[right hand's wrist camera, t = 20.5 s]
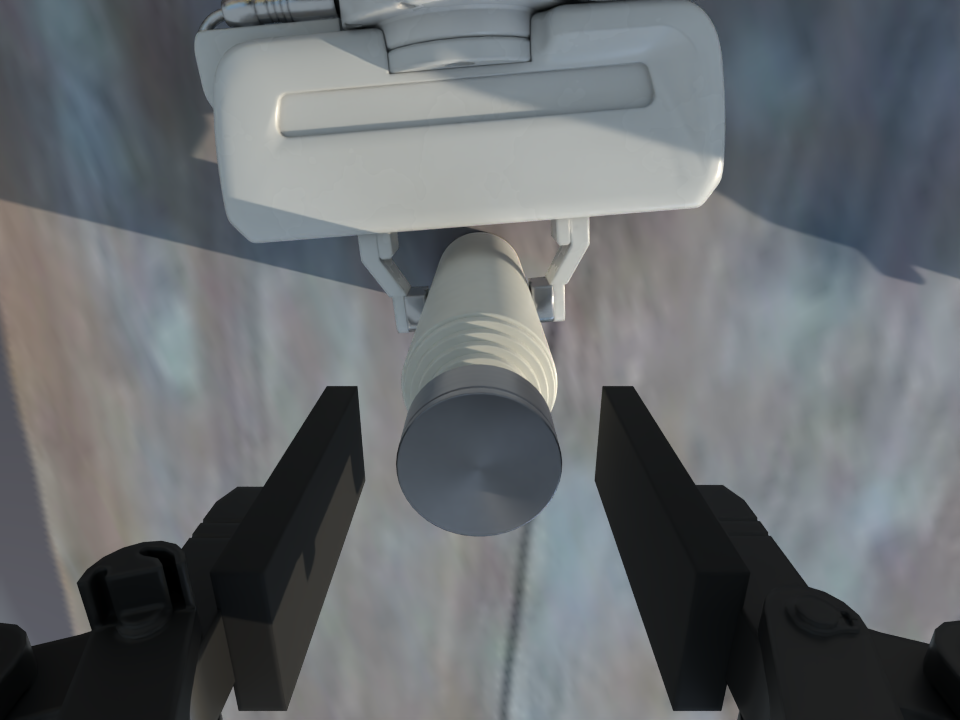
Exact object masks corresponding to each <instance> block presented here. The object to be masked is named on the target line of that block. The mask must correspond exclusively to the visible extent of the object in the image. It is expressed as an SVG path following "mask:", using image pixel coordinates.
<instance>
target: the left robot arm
mask: <svg viewBox="0 0 960 720" xmlns="http://www.w3.org/2000/svg"><path fill="white" fill-rule="evenodd" d="M223 21H226V23H227V24H228V26H230V27H234V28H225V29H214V28H215V27H216V26H217V25H218V24H219V23H221V22H223ZM281 22H282V23H281ZM274 23H279V24H274ZM265 24H268V25H265ZM213 29H214V30H213ZM194 49H195V57H196V61H197V65H198V70H199V74H200V79H201V83H202V88H203V91H204V94H205V96H206V98H207V100H208V102H209V104H210V106H211V107H212V109H213V111H214V129H215V143H216V153H217V162H218V170H219V177H220V184H221V190H222V196H223V202H224V207H225V212H226V215H227V218H228V220H229V222H230V223H231V224H232V225H233V226H234V227H235V228H236V229H237V230H238V231H239V232H240V233H241V234H242V235H243V236H244V237H245V238H246V239H248V240H249V241H250V242H252V243H266V242H279V241H291V240H303V239H316V238H328V237H341V236H353V235H357V237H358V243H359V250H360V256H361V262H362V263H363V264H364V266H365V267H366V268H367V269H368V271H369V272H370V273H371V275H372V276H373V277H374V278H375V280H376V281H377V282H378V283H379V285H380V286H381V287H382V288H383V290H384V291H385V292H386V294H387V295H388V296H389V297H392V298H393V306H394V313H395V320H396V327H397V331H398V333H409V332H415V331H416V328H417V325H418V322H419V319H420V317H421V314H422V311H423V308H424V305H425V302H426V299H427V296H428V293H429V288H428V286H420V287H411V285H410V284H409V282H408V281H407V280H406V278H405V277H404V275H403V274H402V273H401V271H400V270H399V268H398V267H397V265H396V264H395V263H394V261H393V260H392V256H393V255H394V254H395V253H396V251H397V250H398V249H399V242H398V234H397V232H403V231H416V230H428V229H441V228H453V227H465V226H478V225H490V224H503V223H515V222H528V221H540V220H551V236H552V237H553V238H554V240H555V241H556V242H557V244H559V245H560V247H559V249H558V251H557V253H556V255H555V257H554V259H553V261H552V263H551V265H550V267H549V269H548V271H547V273H546V275H545V276H546V277H537V278H528V284H529V290H530V293H531V296H532V299H533V302H534V305H535V308H536V311H537V314H538V317H539V320H540V322H553V321H564V320H565V289H564V284H567V283H568V281H569V280H570V278H571V276H572V274H573V273H574V271H575V269H576V267H577V265H578V264H579V262H580V260H581V258H582V256H583V255H584V253H585V251H586V249H587V248H588V246H589V217H590V216H603V215H615V214H627V213H640V212H652V211H665V210H677V209H689V208H697V207H700V206H701V205H703V203H704V202H705V201H706V200H707V199H708V198H709V196H710V195H711V194H712V192H713V191H714V189H715V188H716V187H717V185H718V184H719V183H720V180H721V178H722V174H723V165H724V152H725V88H724V73H723V60H722V51H721V46H720V41H719V37H718V34H717V31H716V29H715V26H714V24H713V22H712V21H711V19H710V18H709V16H708V15H707V14H706V13H705V12H704V10H702V9H701V8H700V7H699V6H697V5H696V4H694V3H692V2H690V1H688V0H222V1H221V9H218V10H216V11H214V12H212V13H211V14H210V15H209V16H207V17H206V19H205V20H204V21H203V23H202V24H201V26H200V28H199V30H198V33H197V34H196V36H195V42H194Z"/></svg>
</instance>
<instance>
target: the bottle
mask: <svg viewBox="0 0 960 720" xmlns="http://www.w3.org/2000/svg"><path fill="white" fill-rule="evenodd" d="M474 364H484V365H493V366H497V367H502V368H505V369H508V370H510V371H513V372H515V373H517V374H518V375H520V376H522V377H523V378H525V379H526V380H528V381H529V382H530V383H531V384H532V385H533V386H534V387H536V388H537V390H538V391H539V392H540V393H541V395H542V396H543V398H544V399H545V401H546V403H547V405H548V407H549V410H550V413H551V410H552V408H553V405H554V402H555V398H556V394H557V373H556V368H555V364H554V361H553V358H552V355H551V352H550V349H549V346H548V344H547V341H546V338H545V335H544V332H543V329H542V326H541V323H540V320H539V317H538V314H537V311H536V308H535V305H534V302H533V299H532V296H531V293H530V290H529V287H528V284H527V281H526V278H525V275H524V272H523V269H522V266H521V264H520V261H519V258H518V256H517V254H516V252H515V251H514V249H513V248H512V247H511V246H510V244H509V243H507V242H506V241H505V240H503V239H502V238H500V237H498V236H496V235H493V234H490V233H485V232H475V233H469V234H466V235H463V236H461V237H459V238H457V239H456V240H455V241H453V242H452V243H451V244H450V245H449V246H448V247H447V248H446V250H445V251H444V253H443V254H442V257H441V259H440V261H439V264H438V267H437V270H436V273H435V276H434V279H433V282H432V285H431V288H430V290H429V293H428V296H427V299H426V302H425V305H424V308H423V311H422V314H421V317H420V319H419V322H418V325H417V328H416V331H415V334H414V337H413V340H412V343H411V345H410V348H409V351H408V354H407V357H406V360H405V363H404V367H403V371H402V379H401V383H402V395H403V399H404V403H405V406H406V408H407V411H409V408H410V406H411V404H412V402H413V400H414V398H415V397H416V395H417V394H418V393H419V391H420V390H421V389H422V388H423V387H424V386H425V385H426V384H427V383H428V382H429V381H431V380H432V379H434V378H435V377H436V376H438V375H440V374H442V373H444V372H446V371H448V370H451V369H453V368H457V367H461V366H466V365H474Z"/></svg>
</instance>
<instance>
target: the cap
mask: <svg viewBox="0 0 960 720" xmlns="http://www.w3.org/2000/svg"><path fill="white" fill-rule="evenodd" d="M396 468H397V476H398V481H399V484H400V486H401V489H402V492H403V493H404V495H405V497H406V499H407V500H408V502H409V503H410V504H411V506H412V507H413V508H414V509H415V510H416V511H417V512H418V513H419V514H420V515H421V516H422V517H423V518H425V519H426V520H427V521H429V522H430V523H432V524H434V525H435V526H437V527H440V528H442V529H444V530H446V531H449V532H452V533H456V534H461V535H466V536H492V535H498V534H502V533H506V532H509V531H512V530H515V529H517V528H519V527H521V526H523V525H525V524H526V523H528V522H529V521H531V520H532V519H534V518H535V517H536V516H537V515H539V514H540V513H541V512H542V511H543V510H544V508H545V507H546V506H547V505H548V503H549V502H550V501H551V499H552V498H553V496H554V494H555V492H556V490H557V487H558V485H559V482H560V477H561V472H562V457H561V451H560V447H559V443H558V439H557V436H556V432H555V428H554V424H553V420H552V416H551V413H550V410H549V407H548V405H547V403H546V401H545V399H544V398H543V396H542V395H541V393H540V392H539V391H538V390H537V388H536V387H534V386H533V385H532V384H531V383H530V382H529V381H528V380H526V379H525V378H523V377H522V376H520V375H518V374H517V373H515V372H513V371H510V370H508V369H505V368H502V367H497V366H493V365H484V364H474V365H466V366H461V367H457V368H453V369H451V370H448V371H446V372H444V373H442V374H440V375H438V376H436V377H435V378H434V379H432V380H431V381H429V382H428V383H427V384H426V385H425V386H424V387H423V388H422V389H421V390H420V391H419V393H418V394H417V395H416V397H415V398H414V400H413V402H412V404H411V406H410V408H409V411H408V414H407V418H406V421H405V425H404V429H403V433H402V436H401V440H400V444H399V448H398V452H397V460H396Z"/></svg>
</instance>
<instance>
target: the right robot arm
mask: <svg viewBox="0 0 960 720" xmlns="http://www.w3.org/2000/svg"><path fill="white" fill-rule="evenodd" d="M364 483H365V471H364V459H363V447H362V435H361V423H360V411H359V399H358V388H357V386H327V387H326V389H325V390H324V392H323V393H322V395H321V396H320V398H319V400H318V401H317V403H316V404H315V406H314V408H313V409H312V411H311V412H310V414H309V415H308V417H307V419H306V420H305V422H304V423H303V425H302V427H301V428H300V430H299V431H298V433H297V434H296V436H295V438H294V439H293V441H292V442H291V444H290V446H289V447H288V449H287V450H286V452H285V453H284V455H283V457H282V458H281V460H280V461H279V463H278V465H277V466H276V468H275V469H274V471H273V472H272V474H271V476H270V477H269V479H268V480H267V482H266V484H265V485H264V487H237V488H235V489H234V490H232V491H231V492H230V493H228V494H227V495H225V496H224V497H222V498H221V499H220V500H218V501H217V502H216V503H215V504H214V506H213V507H212V508H211V510H210V511H209V512H208V514H207V515H206V516H205V518H204V519H203V523H200V525H199V526H198V527H197V529H196V530H195V531H194V533H193V534H192V538H189V540H188V541H187V542H186V544H185V545H184V546H183V548H182V549H181V548H180V547H179V546H178V545H176V544H173V543H169V542H164V541H153V542H142V543H138V544H135V545H131V546H128V547H124V548H122V549H119V550H117V551H115V552H113V553H111V554H109V555H107V556H105V557H103V558H102V559H100V560H99V561H98V562H96V563H95V564H94V565H92V566H91V567H90V568H88V569H87V570H86V571H85V573H84V574H83V575H82V577H81V578H80V579H79V581H78V582H77V585H78V588H79V591H80V595H81V598H82V601H83V604H84V607H85V610H86V613H87V617H88V620H89V623H90V626H91V629H92V631H90V632H87V633H84V634H81V635H77V636H73V637H68V638H64V639H60V640H56V641H52V642H47V643H43V644H39V645H35V646H31V645H30V642H29V639H28V636H27V634H26V632H25V631H24V630H23V629H21V628H20V627H19V626H18V625H15V624H6V623H0V720H223V719H222V715H221V712H222V709H223V707H224V705H225V703H226V701H227V698H228V696H229V694H230V692H231V690H232V687H233V686H234V691H235V696H236V700H237V705H238V710H239V711H287V708H288V706H289V703H290V700H291V697H292V694H293V691H294V688H295V685H296V682H297V679H298V676H299V673H300V670H301V667H302V664H303V662H304V659H305V656H306V653H307V650H308V647H309V644H310V641H311V638H312V635H313V632H314V629H315V626H316V623H317V620H318V618H319V615H320V612H321V609H322V606H323V603H324V600H325V597H326V594H327V591H328V588H329V585H330V582H331V579H332V576H333V574H334V571H335V568H336V565H337V562H338V559H339V556H340V553H341V550H342V547H343V544H344V541H345V538H346V535H347V532H348V530H349V527H350V524H351V521H352V518H353V515H354V512H355V509H356V506H357V503H358V500H359V497H360V494H361V491H362V489H363V486H364ZM595 483H596V486H597V489H598V491H599V494H600V497H601V500H602V503H603V506H604V509H605V512H606V515H607V518H608V521H609V524H610V527H611V530H612V532H613V535H614V538H615V541H616V544H617V547H618V550H619V553H620V556H621V559H622V562H623V565H624V568H625V571H626V574H627V576H628V579H629V582H630V585H631V588H632V591H633V594H634V597H635V600H636V603H637V606H638V609H639V612H640V615H641V618H642V620H643V623H644V626H645V629H646V632H647V635H648V638H649V641H650V644H651V647H652V650H653V653H654V656H655V659H656V662H657V664H658V667H659V670H660V673H661V676H662V679H663V682H664V685H665V688H666V691H667V694H668V697H669V700H670V703H671V706H672V708H673V711H721V710H722V705H723V700H724V696H725V691H726V686H727V685H728V687H729V689H730V691H731V693H732V695H733V698H734V700H735V702H736V704H737V706H738V709H739V715H738V719H737V720H960V621H952V622H944V623H943V624H941V625H940V626H939V627H938V628H936V629H935V631H934V634H933V636H932V639H931V642H930V644H927V643H923V642H919V641H915V640H910V639H906V638H902V637H898V636H893V635H889V634H885V633H881V632H877V631H874V630H871V629H868V628H867V627H866V625H865V624H864V622H863V621H862V619H861V618H860V616H859V615H858V614H857V613H856V612H855V611H853V610H852V609H851V608H850V607H849V606H848V605H846V604H845V603H844V602H842V601H841V600H839V599H837V598H835V597H833V596H831V595H830V594H828V593H826V592H823V591H820V590H817V589H814V588H810V587H808V586H807V584H806V583H805V581H804V580H803V579H802V577H801V576H800V575H799V573H798V572H797V571H796V569H795V568H794V567H793V565H792V564H791V563H790V561H789V560H788V559H787V557H786V556H785V555H784V553H783V552H782V550H781V549H780V548H779V546H778V545H777V544H776V542H775V541H774V540H773V538H772V537H771V536H768V532H767V530H766V529H765V528H764V526H763V525H762V524H761V522H760V521H757V517H756V515H755V514H754V513H753V511H752V510H751V509H750V507H749V506H748V505H747V503H746V502H745V501H744V500H743V499H742V498H740V497H739V496H738V495H736V494H735V493H733V492H732V491H730V490H729V489H728V488H726V487H725V486H723V485H695V484H694V482H693V480H692V479H691V477H690V476H689V474H688V472H687V471H686V469H685V468H684V466H683V465H682V463H681V461H680V460H679V458H678V457H677V455H676V453H675V452H674V450H673V449H672V447H671V446H670V444H669V442H668V441H667V439H666V438H665V436H664V434H663V433H662V431H661V430H660V428H659V427H658V425H657V423H656V422H655V420H654V419H653V417H652V415H651V414H650V412H649V411H648V409H647V408H646V406H645V404H644V403H643V401H642V400H641V398H640V396H639V395H638V393H637V392H636V390H635V389H634V387H633V386H603V388H602V399H601V411H600V423H599V435H598V447H597V459H596V471H595Z"/></svg>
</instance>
